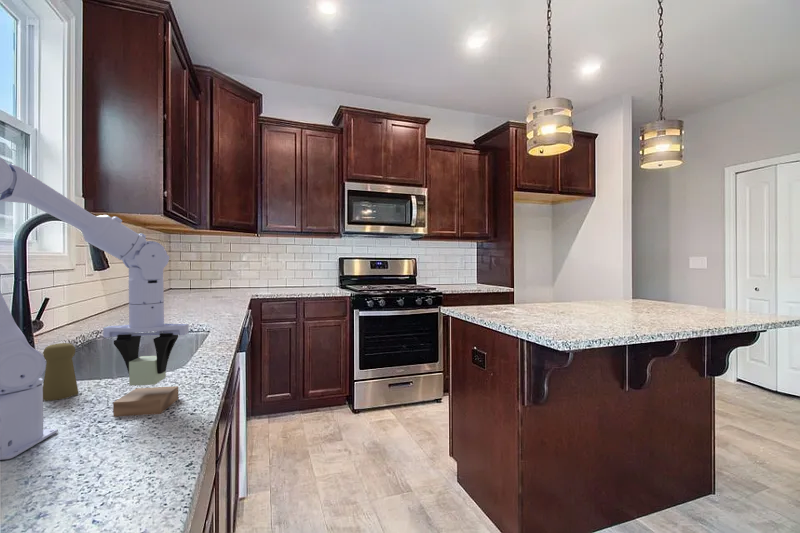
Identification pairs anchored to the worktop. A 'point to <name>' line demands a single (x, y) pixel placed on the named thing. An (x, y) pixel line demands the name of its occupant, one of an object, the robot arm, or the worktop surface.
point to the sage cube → (144, 371)
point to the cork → (59, 372)
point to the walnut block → (146, 401)
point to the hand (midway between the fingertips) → (147, 372)
